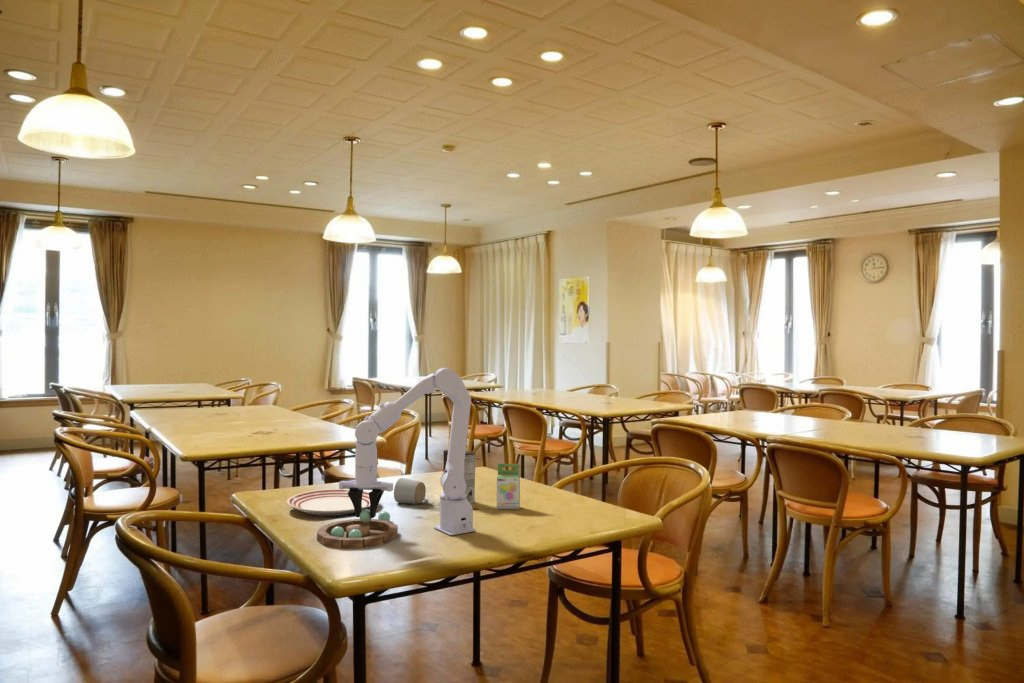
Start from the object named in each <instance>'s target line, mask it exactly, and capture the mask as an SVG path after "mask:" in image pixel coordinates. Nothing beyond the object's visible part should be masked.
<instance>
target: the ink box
mask: <svg viewBox="0 0 1024 683" xmlns="http://www.w3.org/2000/svg"><path fill="white" fill-rule="evenodd" d="M508 467H510V468H513V469H504V468H508ZM520 484H521V475H520V463H497V475H496V510H518V511H519V510H520V506H521V505H520V504H521V501H520V500H521V497H520V496H521V495H520V494H521V493H520V492H521V485H520Z"/></svg>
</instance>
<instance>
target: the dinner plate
mask: <svg viewBox="0 0 1024 683" xmlns="http://www.w3.org/2000/svg"><path fill="white" fill-rule="evenodd" d="M348 492H349V489H339V488H327V489H316V490H315V489H314V490H310V491H309V490H308V491H305V492H301V493H297V494H295V495H293V496H290V497H289V498H288V499H287V501H286V503H287V505H288V506H290V507H292V508H293V509H295V510H298V511H300V512H304V513H306V514H308V515H313V516H323V517H324V516H325V517H326V516H329V517H330V516H331V517H332V516H344V515H350V514H354V513H355V509H354V506H353V503H352V501H351V499H350V497H349V496H348ZM369 492H370V491H368V490H363V494H362V510H365V509H368V508H370V498H369ZM355 514H356V513H355Z"/></svg>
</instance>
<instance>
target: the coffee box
mask: <svg viewBox="0 0 1024 683" xmlns="http://www.w3.org/2000/svg"><path fill="white" fill-rule="evenodd" d="M447 457H448V449H445V450H443V470H442V471H443V473H444V471H445V467H446V462H447ZM443 473H442V474H443ZM464 479H465V482H466V491H465V493H466V498H467V501H468V502H469V503H470V504H474V503H475V500H476V499H475V497H476V496H475V494H476V452H474V451H470V450H466V451H465V460H464Z"/></svg>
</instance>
